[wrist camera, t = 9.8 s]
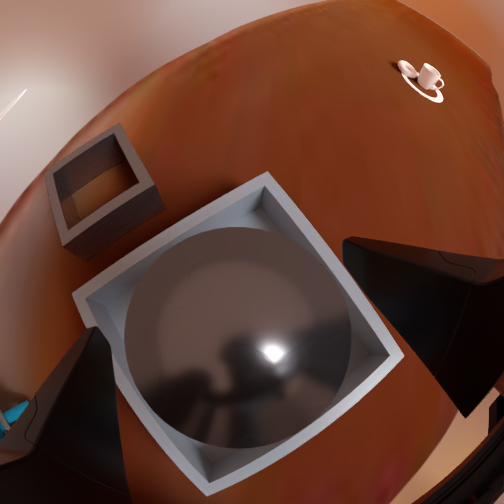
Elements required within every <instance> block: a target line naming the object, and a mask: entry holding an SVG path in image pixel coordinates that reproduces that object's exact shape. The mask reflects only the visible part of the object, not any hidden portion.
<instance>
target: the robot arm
mask: <svg viewBox="0 0 504 504" xmlns="http://www.w3.org/2000/svg"><path fill="white" fill-rule="evenodd" d="M342 253H343V263H344V265H345V267H346V268H347V269H348V271H349V272H350V274H351V275H352V276H353V278H354V279H355V280H356V282H357V283H358V285H359V286H360V287H361V289H362V290H363V292H364V293H365V294H366V295H367V297H368V298H369V299H370V300H371V301H372V302H373V304H374V305H375V306H376V307H377V308H378V309H379V310H380V312H381V313H382V314H383V315H384V316H385V317H386V318H387V320H388V321H389V322H390V323H391V324H392V326H393V327H394V328H395V329H396V330H397V331H398V333H399V334H400V335H401V336H402V337H403V339H404V340H405V341H406V342H407V343H408V345H409V346H410V347H411V348H412V350H413V351H414V352H415V353H416V355H417V356H418V357H419V358H420V359H421V361H422V362H423V363H424V365H425V366H426V367H427V368H428V370H429V371H430V372H431V373H432V375H433V376H435V377H434V378H435V379H436V380H437V381H438V383H439V384H440V385H441V387H442V388H443V389H444V391H445V392H446V393H447V395H448V396H449V397H450V399H451V400H452V401H453V403H454V404H455V406H456V407H457V408H458V410H459V411H460V413H461V414H462V415H463V416H464V417H465V418H467V417H468V416H469V415H470V414H471V413H472V412H473V411H474V410H475V409H476V407H477V406H478V405H479V404H480V403H481V402H482V401H483V399H485V397H486V396H487V395H488V394H489V393H490V392H491V390H492V389H493V388H495V389H496V390H497V391H498V392H499V393H500V395H499V396H498V397H497V398H496V400H495V401H494V402H493V403H492V404H491V406H490V407H489V428H488V436H487V437H486V438H485V439H484V440H483V441H482V442H481V443H480V445H478V447H477V448H476V449H475V450H474V451H473V452H472V453H471V454H470V455H469V456H468V457H467V458H466V459H465V460H464V461H463V462H462V463H461V464H460V465H459V466H457V467H456V468H455V469H454V470H453V471H452V472H451V473H450V474H449V475H448V476H446V477H445V478H444V479H443V480H442V481H441V482H439V483H438V484H437V485H436V486H434V487H433V488H432V489H431V490H429V491H428V492H427V493H426V494H424V495H423V496H421V497H420V498H419V499H417V500H416V501H415V502H413V503H412V504H504V259H492V258H484V257H477V256H469V255H462V254H456V253H450V252H444V251H437V250H433V249H427V248H422V247H416V246H410V245H404V244H398V243H392V242H386V241H380V240H374V239H367V238H361V237H354V236H352V237H349V238H346V239H344V240H343V242H342ZM0 504H132V499H131V496H130V491H129V487H128V482H127V477H126V472H125V466H124V460H123V454H122V447H121V439H120V431H119V421H118V410H117V395H116V382H115V375H114V368H113V360H112V351H111V346H110V343H109V342H108V340H107V339H106V337H105V336H104V334H103V333H102V332H101V330H100V329H99V328H98V327H97V326H93V327H90V328H87V329H86V330H85V331H84V332H83V333H82V335H81V336H80V337H79V338H78V339H77V341H76V342H75V343H74V344H73V346H72V347H71V348H70V349H69V351H68V352H67V353H66V354H65V356H64V357H63V358H62V359H61V361H60V362H59V363H58V364H57V366H56V367H55V368H54V370H53V371H52V372H51V374H50V375H49V376H48V378H47V379H46V380H45V382H44V383H43V384H42V386H41V387H40V388H39V390H38V391H37V393H36V396H34V397H33V398H32V400H31V401H30V402H29V404H28V405H27V407H26V408H25V409H24V411H23V412H22V414H21V415H20V416H19V418H18V419H17V420H16V422H15V423H14V424H13V425H12V427H11V428H10V429H9V431H8V432H7V433H6V435H5V436H4V438H3V439H2V440H1V442H0Z"/></svg>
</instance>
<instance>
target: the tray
mask: <svg viewBox="0 0 504 504" xmlns="http://www.w3.org/2000/svg"><path fill="white" fill-rule="evenodd" d="M226 227H248V228H256V229H261V230H265V231H269V232H273V233H276V234H278V235H281V236H283V237H286V238H288V239H290V240H291V241H293V242H295V243H297V244H299V245H300V246H302V247H303V248H304V249H306V250H307V251H309V252H310V253H311V254H312V255H313V256H314V257H315V258H317V259H318V260H319V261H320V262H321V263H322V264H323V266H324V267H325V268H326V269H327V270H328V272H329V273H330V274H331V276H332V277H333V279H334V280H335V282H336V283H337V285H338V287H339V289H340V291H341V293H342V295H343V297H344V300H345V303H346V306H347V309H348V313H349V318H350V324H351V337H352V343H351V354H350V359H349V364H348V368H347V371H346V374H345V377H344V380H343V382H342V384H341V386H340V388H339V390H338V392H337V394H336V396H335V397H334V398H333V400H332V401H331V403H330V404H329V405H328V407H327V408H326V409H325V410H324V411H323V412H322V413H321V414H320V416H319V417H318V418H317V419H315V420H314V421H313V422H312V423H311V424H309V425H308V426H307V427H306V428H304V429H302V430H301V431H299V432H298V433H296V434H294V435H293V436H290V437H288V438H286V439H284V440H281V441H279V442H276V443H273V444H269V445H266V446H261V447H254V448H241V449H232V448H223V447H217V446H212V445H208V444H205V443H201V442H199V441H196V440H194V439H191V438H189V437H187V436H185V435H183V434H182V433H180V432H178V431H176V430H175V429H173V428H172V427H171V426H169V425H168V424H167V423H165V422H164V421H163V420H162V419H161V418H160V417H159V416H158V415H157V414H156V413H155V412H154V411H153V410H152V409H151V408H150V407H149V405H148V404H147V403H146V401H145V400H144V399H143V397H142V396H141V394H140V392H139V390H138V389H137V387H136V385H135V383H134V381H133V378H132V376H131V373H130V370H129V367H128V363H127V359H126V353H125V344H124V328H125V321H126V315H127V310H128V307H129V304H130V300H131V298H132V296H133V293H134V291H135V289H136V287H137V285H138V283H139V282H140V280H141V278H142V277H143V275H144V274H145V272H146V271H147V270H148V269H149V267H150V266H151V265H152V264H153V263H154V262H155V261H156V260H157V259H158V258H159V257H160V256H161V255H162V254H163V253H164V252H166V251H167V250H168V249H170V248H171V247H173V246H174V245H175V244H177V243H179V242H181V241H183V240H185V239H186V238H188V237H191V236H193V235H196V234H198V233H201V232H205V231H209V230H213V229H217V228H226ZM72 296H73V299H74V301H75V304H76V306H77V308H78V311H79V313H80V315H81V317H82V320H83V322H84V324H85V326H86V328H90V327H93V326H97V327H98V328H99V329H100V330H101V332H102V333H103V334H104V336H105V337H106V339H107V340H108V342H109V343H110V346H111V351H112V360H113V368H114V375H115V382H116V384H117V386H118V387H119V389H120V390H121V392H122V394H123V395H124V397H125V398H126V400H127V401H128V403H129V404H130V406H131V407H132V409H133V410H134V412H135V413H136V415H137V416H138V417H139V419H140V420H141V422H142V423H143V424H144V426H145V427H146V428H147V430H148V431H149V432H150V434H151V435H152V436H153V438H154V439H155V440H156V441H157V443H158V444H159V445H160V446H161V448H162V449H163V450H164V451H165V452H166V454H167V455H168V456H169V457H170V458H171V459H172V461H173V462H174V463H175V464H176V465H177V466H178V467H179V468H180V470H181V471H182V472H183V473H184V474H185V475H186V476H187V477H188V478H189V479H190V480H191V481H192V482H193V483H194V484H195V485H196V486H197V487H198V488H199V489H200V490H201V491H202V492H203V493H204V494H205V495H206V496H209V495H211V494H214V493H216V492H218V491H220V490H223V489H225V488H227V487H229V486H231V485H233V484H235V483H237V482H239V481H241V480H243V479H245V478H247V477H249V476H251V475H253V474H255V473H256V472H258V471H260V470H262V469H264V468H265V467H267V466H269V465H270V464H272V463H274V462H276V461H277V460H279V459H280V458H282V457H284V456H285V455H287V454H288V453H290V452H292V451H293V450H295V449H296V448H298V447H299V446H301V445H302V444H304V443H305V442H306V441H308V440H309V439H311V438H312V437H314V436H315V435H316V434H318V433H319V432H320V431H322V430H323V429H324V428H326V427H327V426H328V425H330V424H331V423H332V422H334V421H335V420H336V419H337V418H339V417H340V416H341V415H342V414H344V413H345V412H346V411H347V410H348V409H350V408H351V407H352V406H353V405H354V404H355V403H357V402H358V401H359V400H360V399H361V398H362V397H363V396H364V395H366V394H367V393H368V392H369V391H370V390H371V389H372V388H373V387H374V386H375V385H376V384H377V383H378V382H379V381H381V380H382V379H383V378H384V377H385V376H386V375H387V374H388V373H389V372H390V371H391V370H392V369H393V368H394V367H395V365H396V364H397V363H398V362H399V361H400V360H401V359H402V358H403V357H404V355H403V353H402V352H401V350H400V348H399V347H398V345H397V344H396V342H395V341H394V339H393V337H392V336H391V334H390V333H389V331H388V330H387V328H386V327H385V325H384V324H383V322H382V321H381V319H380V318H379V316H378V315H377V313H376V312H375V310H374V309H373V307H372V306H371V305H370V303H369V302H368V300H367V299H366V297H365V296H364V295H363V293H362V292H361V290H360V289H359V287H358V286H357V285H356V283H355V282H354V280H353V279H352V278H351V276H350V275H349V274H348V272H347V271H346V269H345V268H344V267H343V265H342V264H341V263H340V261H339V260H338V259H337V257H336V256H335V255H334V253H333V252H332V251H331V249H330V248H329V247H328V245H327V244H326V243H325V241H324V240H323V239H322V238H321V236H320V235H319V234H318V232H317V231H316V230H315V229H314V227H313V226H312V225H311V223H310V222H309V221H308V220H307V218H306V217H305V216H304V215H303V213H302V212H301V211H300V210H299V209H298V207H297V206H296V205H295V204H294V202H293V201H292V200H291V199H290V198H289V196H288V195H287V194H286V193H285V191H284V190H283V189H282V188H281V187H280V186H279V184H278V183H277V182H276V181H275V180H274V178H273V177H272V176H271V175H270V174H269V173H268V171H267V172H265V173H264V174H262V175H260V176H258V177H256V178H254V179H252V180H250V181H249V182H247V183H245V184H243V185H241V186H239V187H238V188H236V189H234V190H232V191H230V192H229V193H227V194H225V195H223V196H222V197H220V198H218V199H216V200H215V201H213V202H211V203H209V204H208V205H206V206H204V207H203V208H201V209H199V210H197V211H196V212H194V213H192V214H191V215H189V216H187V217H186V218H184V219H182V220H181V221H179V222H177V223H176V224H174V225H173V226H171V227H169V228H168V229H166V230H165V231H163V232H161V233H160V234H158V235H157V236H155V237H153V238H152V239H150V240H149V241H147V242H146V243H144V244H143V245H141V246H139V247H138V248H136V249H135V250H133V251H132V252H130V253H129V254H127V255H126V256H124V257H123V258H121V259H120V260H118V261H117V262H115V263H114V264H113V265H111V266H110V267H108V268H107V269H105V270H104V271H102V272H101V273H100V274H98V275H97V276H95V277H94V278H92V279H91V280H90V281H88V282H87V283H85V284H84V285H83V286H81V287H80V288H79V289H77V290H76V291H74V292H73V293H72Z"/></svg>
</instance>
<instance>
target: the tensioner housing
mask: <svg viewBox="0 0 504 504" xmlns="http://www.w3.org/2000/svg"><path fill="white" fill-rule="evenodd" d="M124 159H127V161H128V162H129V164H130V166H131V168H132V170H133V172H134V174H135V176H136V177H137V179H138V181H139V183H138V184H136V185H134V186H133V187H131V188H130V189H128V190H126V191H125V192H123V193H122V194H120V195H119V196H117V197H115V198H114V199H112V200H111V201H109V202H108V203H106V204H105V205H103V206H102V207H100V208H99V209H98V210H96V211H95V212H93V213H92V214H90V215H89V216H88V217H86V218H85V219H83V220H82V221H81V222H80V219H79V216H78V213H77V210H76V207H75V204H74V201H73V198H72V195H71V194H73V193H74V192H76V191H77V190H78V189H80V188H81V187H83V186H84V185H85V184H87V183H88V182H90V181H91V180H93V179H94V178H96V177H97V176H99V175H100V174H102V173H103V172H105V171H106V170H108V169H110V168H111V167H113V166H114V165H116V164H118V163H119V162H121V161H122V160H124ZM44 175H45V180H46V185H47V190H48V195H49V199H50V203H51V207H52V211H53V215H54V219H55V223H56V226H57V230H58V233H59V236H60V240H61V243H62V246H63V247H64V248H66V249H67V250H69V251H70V252H72V253H73V254H75V255H76V256H78V257H80V258H81V259H83V260H84V261H87V260H89V259H90V258H91V257H93V256H94V255H96V254H97V253H98V252H100V251H101V250H103V249H104V248H106V247H107V246H109V245H110V244H111V243H113V242H114V241H116V240H117V239H119V238H120V237H122V236H123V235H125V234H126V233H128V232H129V231H131V230H132V229H134V228H136V227H137V226H139V225H140V224H142V223H143V222H145V221H146V220H148V219H150V218H151V217H153V216H154V215H156V214H158V213H159V212H161V211H163V210H164V209H166V208H165V206H164V203H163V201H162V199H161V197H160V195H159V193H158V190H157V188H156V186H155V184H154V182H153V180H152V179H151V177H150V175H149V174H148V172H147V170H146V169H145V167H144V165H143V163H142V162H141V160H140V158H139V156H138V155H137V153H136V151H135V149H134V148H133V146H132V144H131V142H130V140H129V139H128V137H127V135H126V133H125V131H124V130H123V128H122V126H121V124H120V123H118V124H117V125H115V126H113V127H112V128H110V129H108V130H106V131H105V132H103V133H101V134H100V135H98V136H97V137H95V138H93V139H92V140H90V141H89V142H87V143H86V144H84V145H83V146H81V147H80V148H78V149H77V150H75V151H74V152H72V153H71V154H69V155H68V156H67V157H65V158H64V159H62V160H61V161H60V162H58V163H57V164H56V165H54V166H53V167H52V168H50V169H49V170H48V171H47V172H45V173H44Z"/></svg>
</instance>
